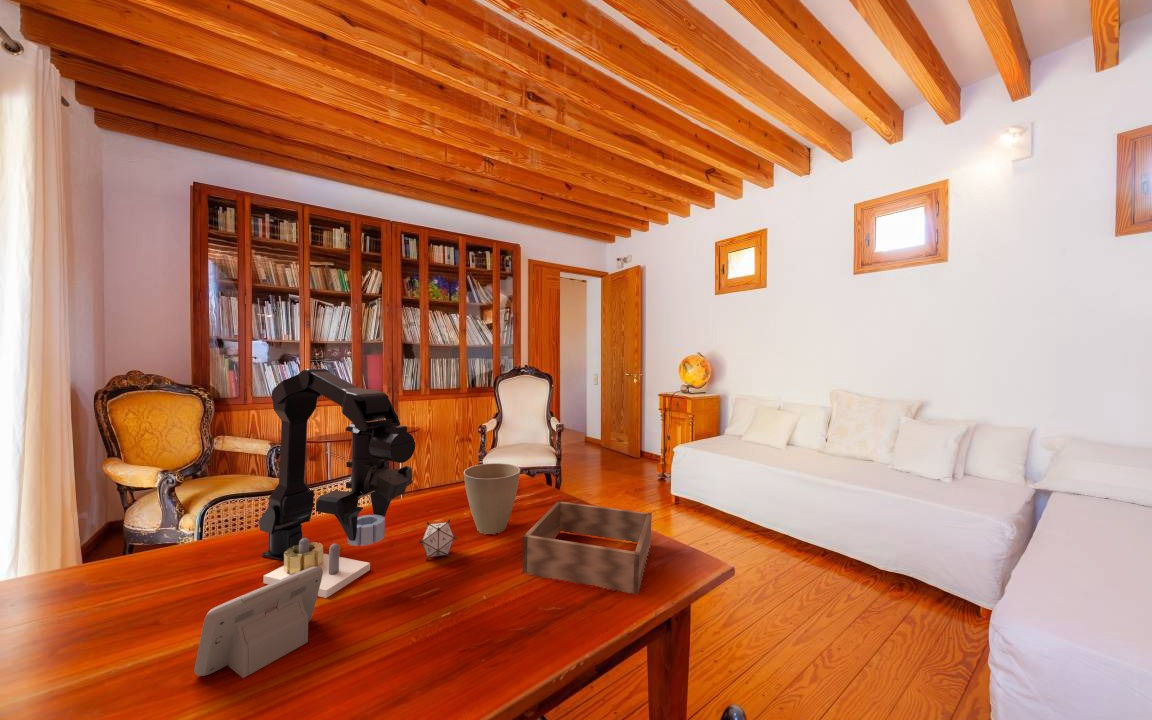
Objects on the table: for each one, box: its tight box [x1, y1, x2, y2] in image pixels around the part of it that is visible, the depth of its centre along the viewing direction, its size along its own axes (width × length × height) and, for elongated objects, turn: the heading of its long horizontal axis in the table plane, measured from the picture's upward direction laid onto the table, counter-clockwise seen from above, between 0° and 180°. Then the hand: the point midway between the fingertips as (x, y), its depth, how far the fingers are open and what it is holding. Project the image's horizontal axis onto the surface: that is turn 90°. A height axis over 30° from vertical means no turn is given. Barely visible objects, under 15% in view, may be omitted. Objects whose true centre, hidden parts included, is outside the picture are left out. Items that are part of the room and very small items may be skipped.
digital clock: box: [193, 567, 323, 679], centre depth 65 cm, size 16×9×11 cm, turn 139°
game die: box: [418, 518, 458, 561], centre depth 97 cm, size 9×8×10 cm
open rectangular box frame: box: [522, 500, 653, 595], centre depth 98 cm, size 25×23×10 cm
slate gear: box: [346, 514, 386, 547], centre depth 84 cm, size 7×7×4 cm
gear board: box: [262, 537, 371, 599], centre depth 87 cm, size 16×11×7 cm
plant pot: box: [463, 462, 521, 535], centre depth 112 cm, size 15×15×16 cm
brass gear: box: [283, 541, 324, 574], centre depth 88 cm, size 7×7×4 cm
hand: (366, 533), depth 84 cm, fingers closed on slate gear, 7 cm apart
